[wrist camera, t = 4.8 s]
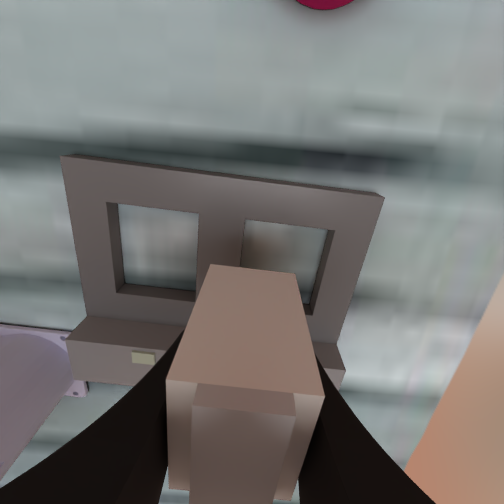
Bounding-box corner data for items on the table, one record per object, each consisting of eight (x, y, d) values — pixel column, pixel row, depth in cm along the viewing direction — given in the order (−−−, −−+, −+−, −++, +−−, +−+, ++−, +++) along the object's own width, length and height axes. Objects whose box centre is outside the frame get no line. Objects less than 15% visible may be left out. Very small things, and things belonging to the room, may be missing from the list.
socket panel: (102, 341, 24) (72, 382, 20) (74, 154, 17) (21, 160, 13) (321, 366, 24) (332, 409, 20) (375, 192, 18) (407, 209, 14)
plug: (206, 345, 14) (162, 512, 8) (210, 263, 12) (157, 401, 6) (278, 353, 15) (292, 525, 8) (295, 273, 12) (331, 420, 6)
